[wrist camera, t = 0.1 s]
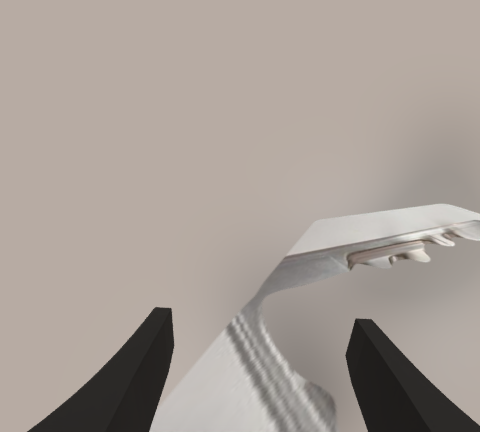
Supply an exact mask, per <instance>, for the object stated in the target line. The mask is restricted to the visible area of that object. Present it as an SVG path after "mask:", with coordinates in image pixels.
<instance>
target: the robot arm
mask: <svg viewBox="0 0 480 432" xmlns="http://www.w3.org/2000/svg"><path fill="white" fill-rule="evenodd" d="M173 349H174V337H173V323H172V311H171V308H159V307H156V308H154V309H153V311H152V312H151V313H150V314H149V316H148V317H147V318H146V319H145V321H144V322H143V323H142V324H141V326H140V327H139V328H138V329H137V330H136V332H135V333H134V334H133V335H132V336H131V337H130V338H129V340H128V341H127V342H126V343H125V344H124V345H123V346H122V348H121V349H120V350H119V351H118V352H117V353H116V354H115V355H114V356H113V357H112V358H111V359H110V360H109V361H108V362H107V363H106V364H105V365H104V366H103V367H102V368H101V370H100V371H99V372H98V373H97V374H95V375H94V376H93V377H92V378H91V379H90V380H89V381H88V382H87V383H86V384H85V385H84V386H83V387H82V388H80V389H79V390H78V391H77V392H76V393H75V394H74V395H73V396H71V398H69V399H68V400H67V401H65V402H64V403H63V404H62V405H61V406H59V407H58V408H57V409H56V410H55V411H53V412H52V413H51V414H50V415H48V416H47V417H46V418H45V419H44V420H42V421H41V422H40V423H38V424H37V425H36V426H34V427H33V428H32V429H30V430H29V431H27V432H149V430H150V427H151V424H152V421H153V418H154V415H155V412H156V409H157V406H158V403H159V400H160V397H161V394H162V391H163V387H164V385H165V381H166V378H167V375H168V372H169V368H170V363H171V358H172V354H173ZM346 360H347V365H348V370H349V374H350V378H351V383H352V386H353V389H354V392H355V394H356V398H357V400H358V404H359V406H360V409H361V412H362V415H363V418H364V421H365V424H366V427H367V430H368V432H480V426H479V425H478V424H477V423H476V422H475V421H473V420H472V419H471V418H470V417H469V416H468V415H466V414H465V413H464V412H463V411H462V410H461V409H459V408H458V407H457V406H456V405H455V404H454V403H452V402H451V401H450V400H449V399H448V398H447V397H446V396H445V395H444V394H443V393H441V391H440V390H439V389H437V388H436V387H435V386H434V385H433V384H432V383H431V382H430V381H429V380H428V379H427V378H426V377H425V376H424V375H423V374H422V373H421V372H420V371H419V370H418V369H417V368H416V367H415V366H414V365H413V364H412V363H411V362H410V361H409V360H408V359H407V358H406V357H405V355H403V353H402V352H401V351H400V350H399V349H398V348H397V347H396V346H395V345H394V344H393V342H392V341H391V340H390V339H389V338H388V337H387V336H386V335H385V334H384V333H383V331H382V330H381V329H380V328H379V327H378V326H377V325H376V324H375V323H374V322H373V320H371V319H356V320H355V323H354V327H353V330H352V334H351V338H350V341H349V345H348V349H347V352H346Z"/></svg>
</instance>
